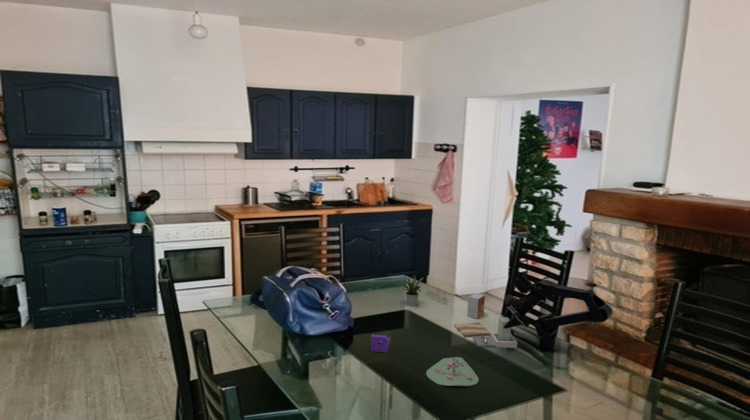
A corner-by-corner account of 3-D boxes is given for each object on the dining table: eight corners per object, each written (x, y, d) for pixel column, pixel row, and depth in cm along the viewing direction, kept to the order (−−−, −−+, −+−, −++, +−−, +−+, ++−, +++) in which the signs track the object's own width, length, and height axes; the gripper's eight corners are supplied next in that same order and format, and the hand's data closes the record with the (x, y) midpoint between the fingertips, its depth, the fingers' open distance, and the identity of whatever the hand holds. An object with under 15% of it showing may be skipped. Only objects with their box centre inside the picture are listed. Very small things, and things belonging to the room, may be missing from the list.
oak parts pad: (491, 335, 226) (491, 333, 226) (464, 337, 223) (464, 335, 223) (479, 324, 239) (479, 322, 238) (453, 325, 236) (453, 323, 235)
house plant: (392, 307, 258) (394, 276, 255) (399, 298, 271) (400, 269, 268) (419, 310, 254) (421, 280, 251) (424, 301, 267) (426, 272, 264)
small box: (477, 319, 245) (478, 299, 243) (466, 316, 248) (468, 296, 247) (484, 314, 251) (485, 295, 250) (473, 312, 255) (475, 292, 253)
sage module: (506, 337, 221) (507, 317, 220) (509, 342, 216) (511, 321, 215) (497, 337, 221) (498, 317, 219) (500, 342, 216) (502, 321, 214)
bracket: (387, 353, 206) (387, 337, 205) (370, 351, 207) (371, 336, 206) (390, 341, 218) (390, 326, 216) (374, 339, 218) (375, 325, 217)
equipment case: (509, 338, 224) (510, 332, 223) (516, 347, 214) (517, 342, 214) (472, 337, 223) (472, 332, 223) (478, 347, 213) (478, 341, 213)
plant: (425, 356, 205) (426, 335, 203) (476, 359, 203) (477, 339, 201) (426, 387, 180) (427, 364, 179) (483, 391, 178) (485, 368, 177)
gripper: (510, 282, 224) (485, 305, 225) (524, 296, 206) (496, 321, 207) (526, 299, 226) (500, 322, 227) (541, 314, 207) (513, 339, 209)
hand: (502, 325), depth 217 cm, fingers closed on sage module, 5 cm apart
